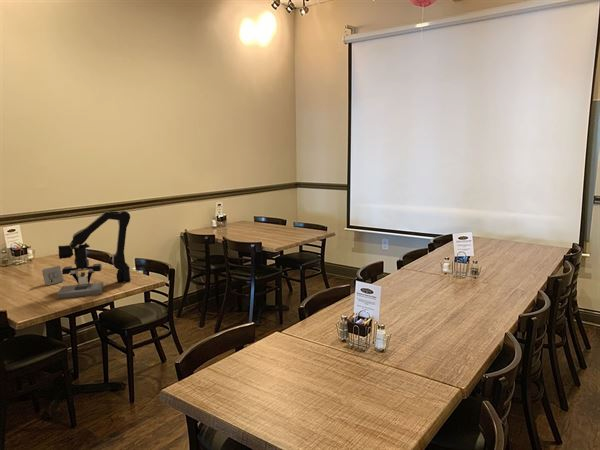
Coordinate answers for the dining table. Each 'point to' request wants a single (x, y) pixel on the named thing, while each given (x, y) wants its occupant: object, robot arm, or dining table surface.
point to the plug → (83, 278)
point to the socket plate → (80, 290)
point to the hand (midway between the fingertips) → (84, 284)
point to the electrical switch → (52, 275)
